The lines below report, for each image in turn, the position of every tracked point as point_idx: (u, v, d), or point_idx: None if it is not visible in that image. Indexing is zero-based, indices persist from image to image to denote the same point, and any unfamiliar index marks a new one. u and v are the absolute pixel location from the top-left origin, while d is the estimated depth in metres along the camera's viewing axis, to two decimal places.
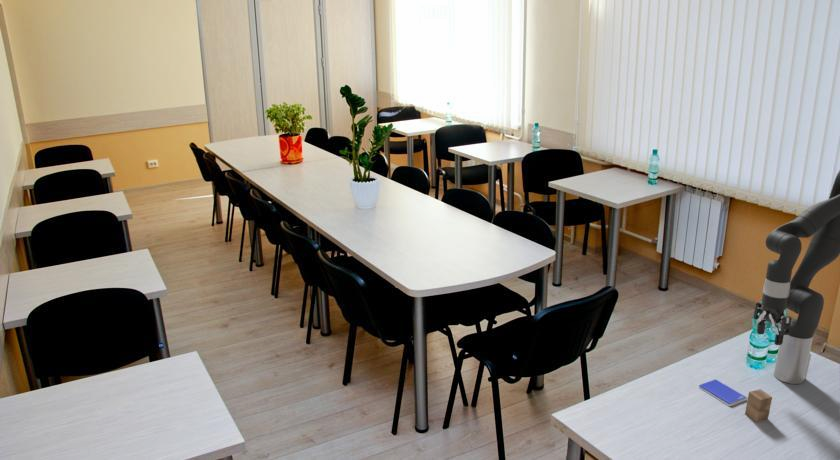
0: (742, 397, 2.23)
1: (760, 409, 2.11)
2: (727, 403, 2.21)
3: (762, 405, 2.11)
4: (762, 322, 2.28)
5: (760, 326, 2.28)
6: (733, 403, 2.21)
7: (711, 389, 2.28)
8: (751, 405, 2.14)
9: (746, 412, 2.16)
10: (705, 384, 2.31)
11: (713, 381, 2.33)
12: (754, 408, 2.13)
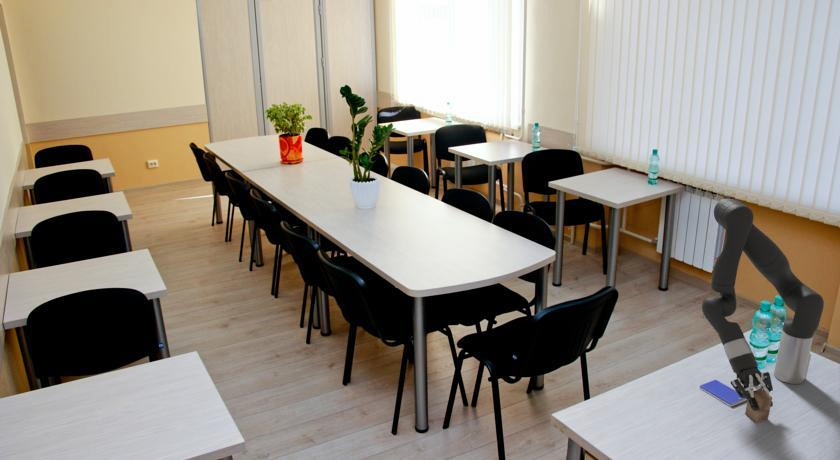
0: None
1: (760, 409, 2.11)
2: (728, 403, 2.21)
3: (762, 405, 2.11)
4: None
5: None
6: (734, 403, 2.21)
7: (712, 390, 2.28)
8: None
9: (746, 412, 2.16)
10: (705, 385, 2.30)
11: (713, 381, 2.32)
12: None
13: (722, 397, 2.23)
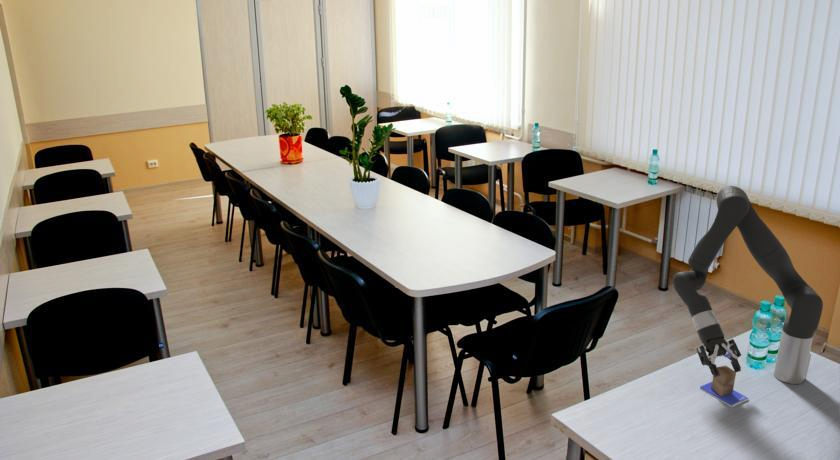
0: (743, 398, 2.23)
1: (725, 384, 2.23)
2: (729, 404, 2.21)
3: (726, 380, 2.23)
4: (732, 359, 2.26)
5: (732, 363, 2.26)
6: (735, 404, 2.21)
7: (712, 390, 2.27)
8: (716, 380, 2.25)
9: (712, 387, 2.28)
10: (706, 385, 2.30)
11: None
12: (719, 383, 2.24)
13: (723, 398, 2.23)
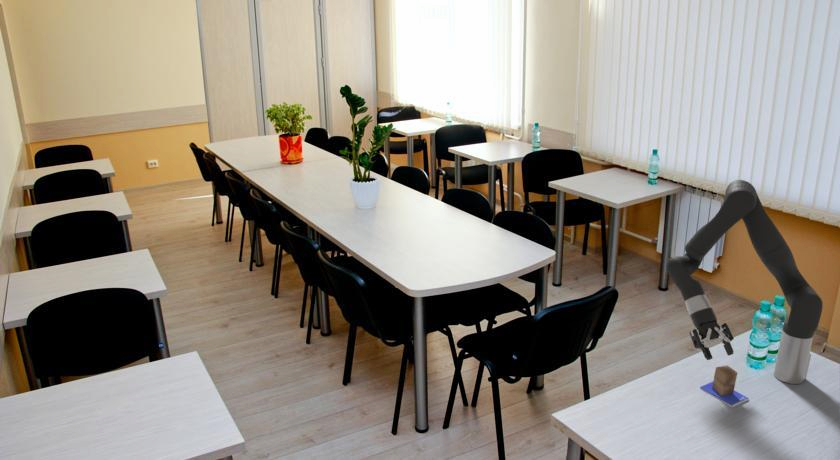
0: (743, 398, 2.23)
1: (725, 384, 2.23)
2: (729, 404, 2.21)
3: (727, 380, 2.23)
4: (725, 342, 2.29)
5: (725, 347, 2.29)
6: (735, 404, 2.21)
7: (712, 390, 2.27)
8: (717, 380, 2.26)
9: (713, 386, 2.28)
10: (706, 386, 2.30)
11: None
12: (720, 383, 2.25)
13: (723, 398, 2.23)
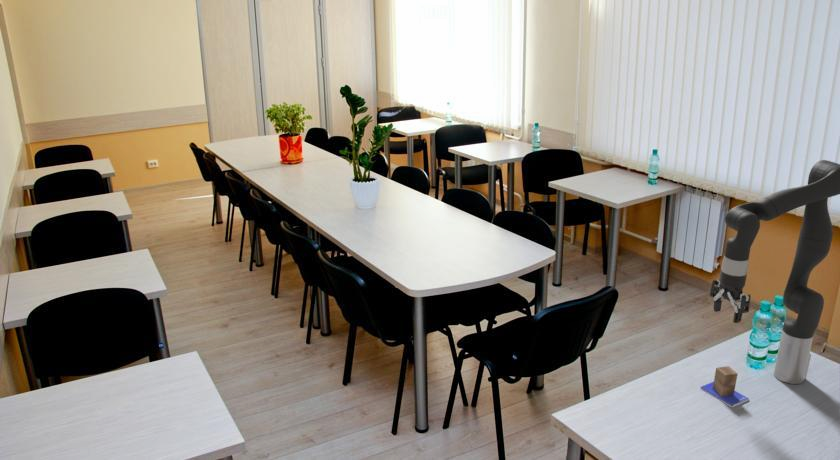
0: (744, 398, 2.23)
1: (725, 384, 2.23)
2: (729, 405, 2.21)
3: (726, 381, 2.23)
4: (719, 299, 2.25)
5: (717, 304, 2.25)
6: (735, 404, 2.21)
7: (713, 391, 2.27)
8: (717, 380, 2.25)
9: (713, 387, 2.28)
10: (706, 386, 2.30)
11: None
12: (719, 383, 2.24)
13: (723, 398, 2.23)
